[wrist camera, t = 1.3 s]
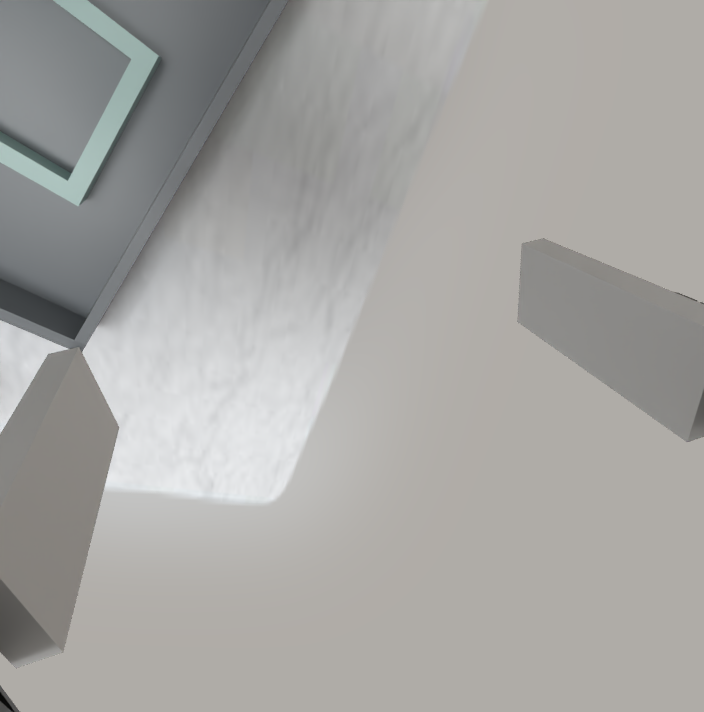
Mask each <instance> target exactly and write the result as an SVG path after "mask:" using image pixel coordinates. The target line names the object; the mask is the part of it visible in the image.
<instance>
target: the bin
mask: <svg viewBox="0 0 704 712" xmlns="http://www.w3.org/2000/svg"><path fill="white" fill-rule="evenodd" d="M287 2H288V0H0V320H2V321H5V322H7V323H9V324H12V325H14V326H16V327H19V328H21V329H23V330H26V331H28V332H31V333H33V334H35V335H38V336H40V337H42V338H45V339H47V340H50V341H52V342H54V343H57V344H59V345H61V346H64V347H66V348H68V349H73V348H77V347H79V348H80V350H81V352H82V351H83V349H84V348H85V346H86V344H87V342H88V341H89V339H90V337H91V336H92V334H93V332H94V331H95V329H96V327H97V325H98V324H99V322H100V320H101V319H102V317H103V315H104V314H105V312H106V310H107V308H108V307H109V305H110V303H111V302H112V300H113V298H114V297H115V295H116V293H117V291H118V290H119V288H120V286H121V285H122V283H123V281H124V279H125V278H126V276H127V274H128V273H129V271H130V269H131V268H132V266H133V264H134V262H135V261H136V259H137V257H138V256H139V254H140V252H141V251H142V249H143V247H144V245H145V244H146V242H147V240H148V239H149V237H150V235H151V234H152V232H153V230H154V228H155V227H156V225H157V223H158V222H159V220H160V218H161V217H162V215H163V213H164V211H165V210H166V208H167V206H168V205H169V203H170V201H171V200H172V198H173V196H174V194H175V193H176V191H177V189H178V188H179V186H180V184H181V183H182V181H183V179H184V177H185V176H186V174H187V172H188V171H189V169H190V167H191V165H192V164H193V162H194V160H195V159H196V157H197V155H198V154H199V152H200V150H201V148H202V147H203V145H204V143H205V142H206V140H207V138H208V137H209V135H210V133H211V131H212V130H213V128H214V126H215V125H216V123H217V121H218V120H219V118H220V116H221V114H222V113H223V111H224V109H225V108H226V106H227V104H228V103H229V101H230V99H231V97H232V96H233V94H234V92H235V91H236V89H237V87H238V86H239V84H240V82H241V80H242V79H243V77H244V75H245V74H246V72H247V70H248V69H249V67H250V65H251V63H252V62H253V60H254V58H255V57H256V55H257V53H258V52H259V50H260V48H261V46H262V45H263V43H264V41H265V40H266V38H267V36H268V34H269V33H270V31H271V29H272V28H273V26H274V24H275V23H276V21H277V19H278V17H279V16H280V14H281V12H282V11H283V9H284V7H285V6H286V4H287Z"/></svg>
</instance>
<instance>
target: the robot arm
mask: <svg viewBox="0 0 704 712" xmlns="http://www.w3.org/2000/svg"><path fill="white" fill-rule="evenodd" d="M518 323H520V324H521V325H523V326H524V327H526V328H527V329H528V330H530V331H531V332H532V333H534V334H536V335H537V336H538V337H540V338H541V339H542V340H544V341H545V342H547V343H548V344H549V345H551V346H552V347H554V348H555V349H556V350H558V351H559V352H561V353H562V354H563V355H565V356H567V357H568V358H569V359H570V360H572V361H574V362H575V363H576V364H578V365H579V366H580V367H582V368H583V369H585V370H586V371H587V372H589V373H590V374H592V375H593V376H595V377H596V378H597V379H599V380H600V381H602V382H603V383H604V384H606V385H607V386H609V387H610V388H611V389H613V390H614V391H616V392H617V393H619V394H620V395H621V396H623V397H624V398H626V399H627V400H628V401H630V402H631V403H633V404H634V405H635V406H637V407H638V408H640V409H641V410H643V411H644V412H645V413H647V414H648V415H649V416H651V417H652V418H654V419H655V420H657V421H658V422H659V423H661V424H662V425H664V426H665V427H666V428H668V429H670V430H671V431H672V432H673V433H675V434H676V435H678V436H679V437H681V438H682V439H683V440H685V441H686V442H689V441H692V440H695V439H698V438H701V437H704V303H701V302H700V303H699V302H697V300H694V299H692V298H689V297H687V296H685V295H682V294H680V293H676V292H672V291H670V290H667V289H665V288H663V287H660V286H658V285H655V284H653V283H651V282H648V281H646V280H643V279H641V278H638V277H636V276H633V275H631V274H629V273H626V272H624V271H621V270H619V269H616V268H614V267H612V266H609V265H607V264H604V263H602V262H600V261H597V260H595V259H592V258H590V257H587V256H585V255H582V254H580V253H578V252H575V251H573V250H570V249H568V248H565V247H563V246H561V245H558V244H556V243H553V242H551V241H548V240H546V239H544V238H543V239H539V240H535V241H530V242H526V243H522V250H521V268H520V285H519V304H518ZM118 430H119V426H118V424H117V422H116V420H115V418H114V416H113V414H112V412H111V410H110V408H109V406H108V404H107V402H106V400H105V398H104V396H103V394H102V392H101V390H100V388H99V386H98V384H97V382H96V380H95V378H94V376H93V374H92V372H91V370H90V368H89V366H88V364H87V362H86V360H85V358H84V356H83V354H82V352H81V350H80V348H79V347H77V348H73V349H68V350H64V351H60V352H55V353H51V354H48V355H47V357H46V359H45V360H44V362H43V364H42V365H41V367H40V369H39V370H38V372H37V374H36V375H35V377H34V379H33V381H32V382H31V384H30V386H29V387H28V389H27V391H26V392H25V394H24V396H23V397H22V399H21V401H20V402H19V404H18V406H17V407H16V409H15V411H14V412H13V414H12V416H11V417H10V419H9V421H8V422H7V424H6V426H5V427H4V429H3V431H2V432H1V434H0V652H1V653H2V654H3V655H4V656H5V657H6V658H7V659H8V661H10V663H11V664H12V665H13V666H14V667H15V668H19V667H21V666H24V665H28V664H30V663H33V662H36V661H39V660H42V659H45V658H48V657H51V656H54V655H57V654H60V653H63V651H64V647H65V643H66V639H67V635H68V631H69V627H70V622H71V619H72V615H73V611H74V607H75V603H76V599H77V595H78V591H79V587H80V583H81V578H82V575H83V571H84V567H85V563H86V559H87V555H88V550H89V547H90V543H91V539H92V534H93V531H94V526H95V523H96V518H97V514H98V510H99V506H100V502H101V498H102V494H103V490H104V486H105V482H106V478H107V474H108V470H109V466H110V462H111V458H112V454H113V450H114V446H115V442H116V438H117V434H118ZM0 712H19V710H18V709H17V708H16V706H15V705H14V703H13V702H12V701H11V699H10V698H9V697H8V695H7V694H6V693H5V692H4V690H3V689H2V687H1V686H0Z"/></svg>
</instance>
